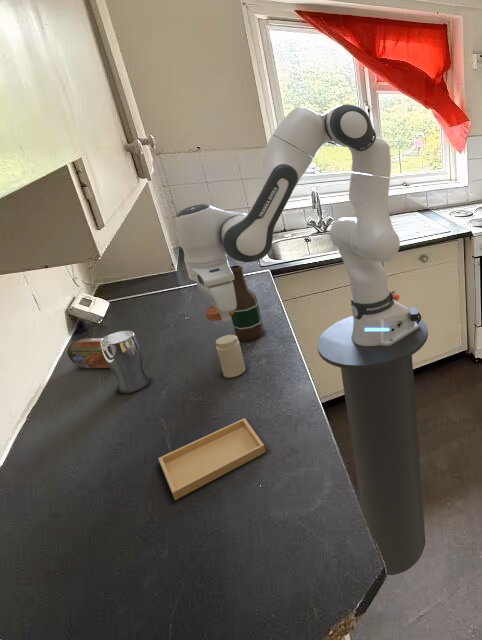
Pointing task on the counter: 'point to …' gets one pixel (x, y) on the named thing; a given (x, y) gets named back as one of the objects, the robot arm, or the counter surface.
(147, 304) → the counter surface
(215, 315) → the lid
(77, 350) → the tin
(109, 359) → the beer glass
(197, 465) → the tray
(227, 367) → the jar
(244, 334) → the beer bottle
